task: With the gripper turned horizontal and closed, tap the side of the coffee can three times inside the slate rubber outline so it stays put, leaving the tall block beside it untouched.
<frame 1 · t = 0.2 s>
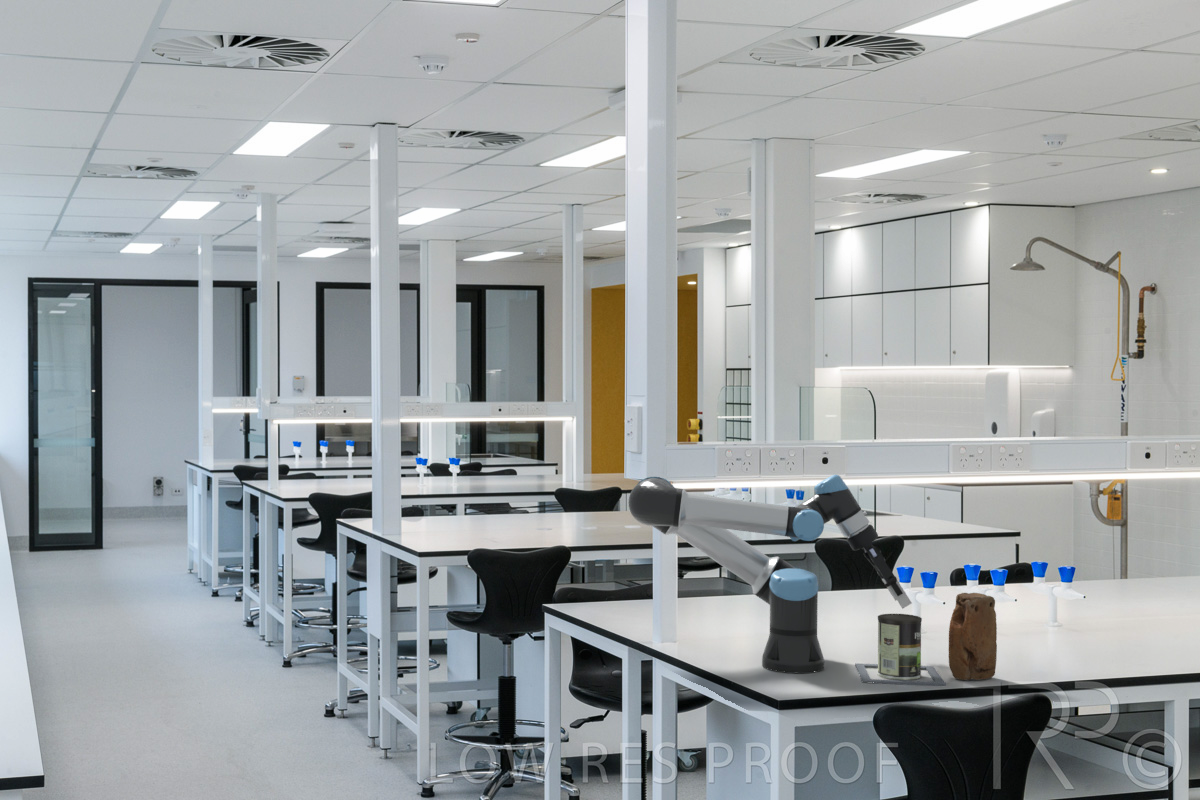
hand: (903, 601, 309), 15 cm above the table, tool tilted 35°, fingers open, 13 cm apart
tap outline: (898, 675, 291), on the table
block: (971, 679, 289), on the table
coffee can: (898, 676, 291), resting in tap outline
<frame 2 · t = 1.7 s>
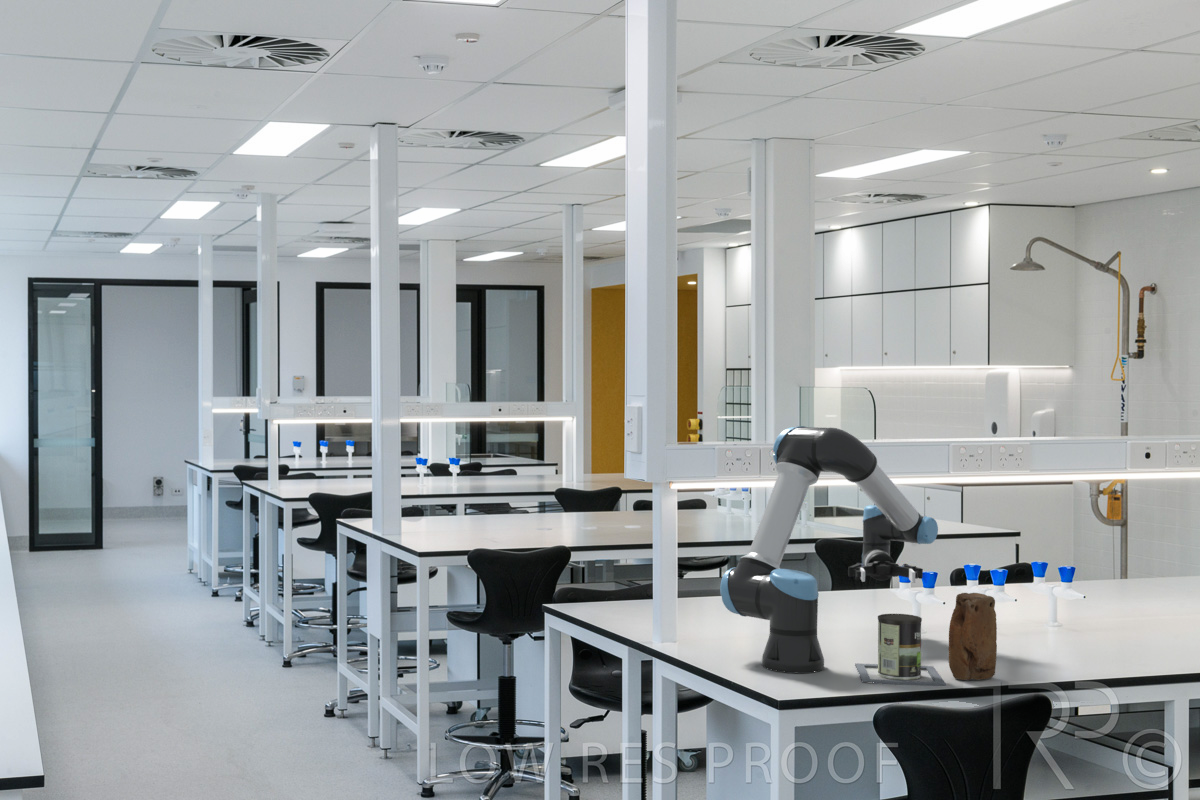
hand: (888, 577, 314), 20 cm above the table, tool horizontal, fingers open, 12 cm apart
nothing on the table moved.
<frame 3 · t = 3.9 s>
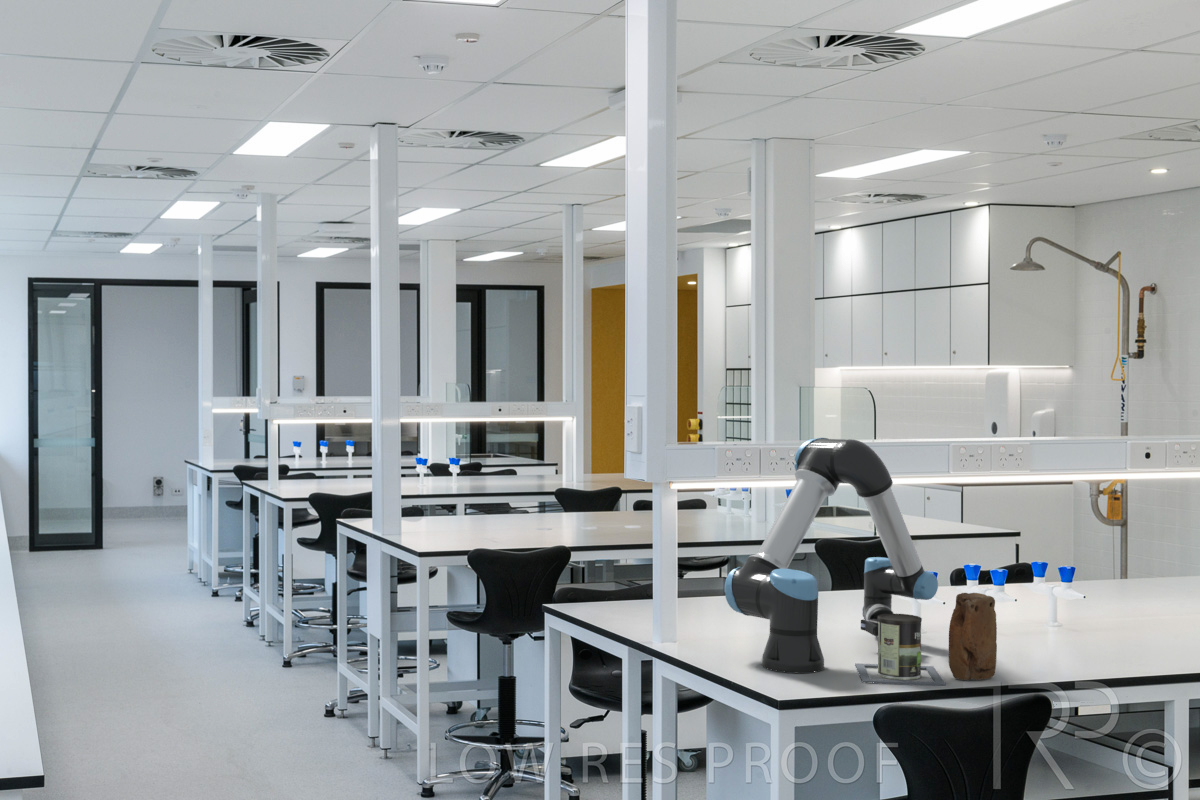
hand: (892, 637, 305), 7 cm above the table, tool horizontal, fingers closed
nothing on the table moved.
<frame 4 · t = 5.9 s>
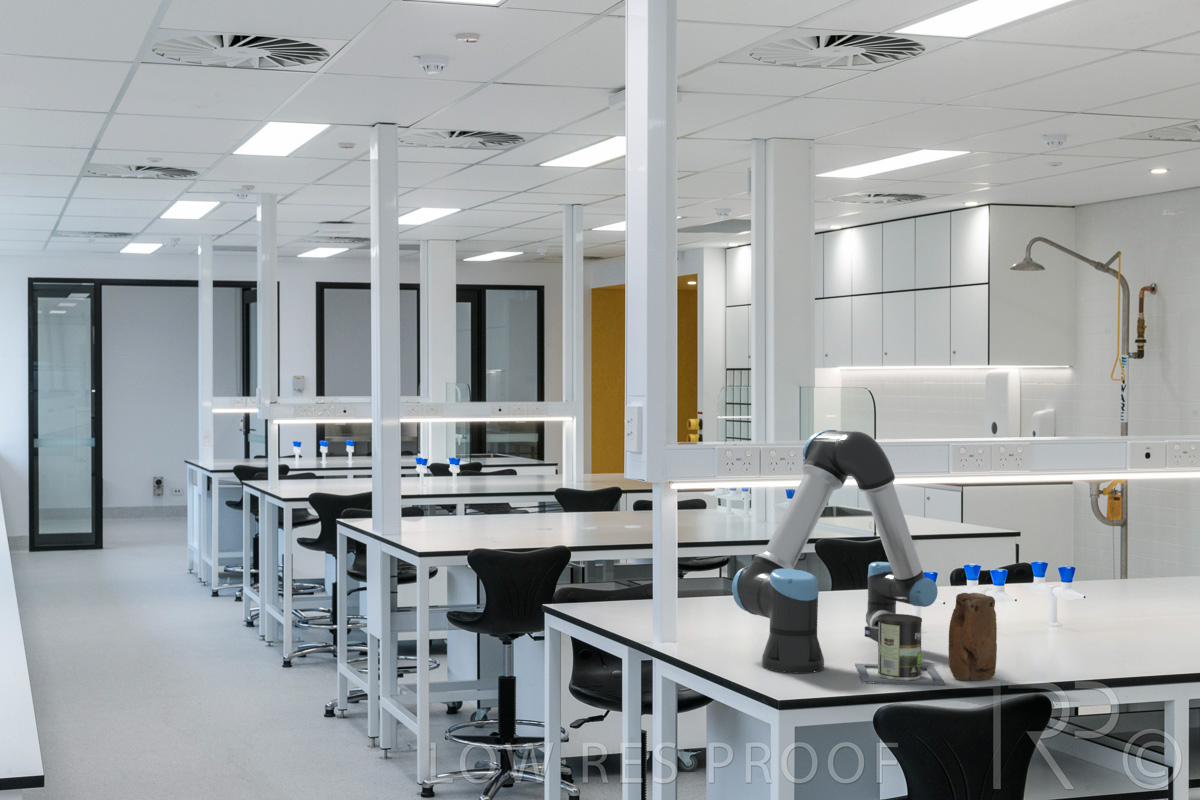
hand: (897, 644, 296), 6 cm above the table, tool horizontal, fingers closed
coffee can: (899, 676, 291), resting in tap outline, touching gripper
everything else where it was.
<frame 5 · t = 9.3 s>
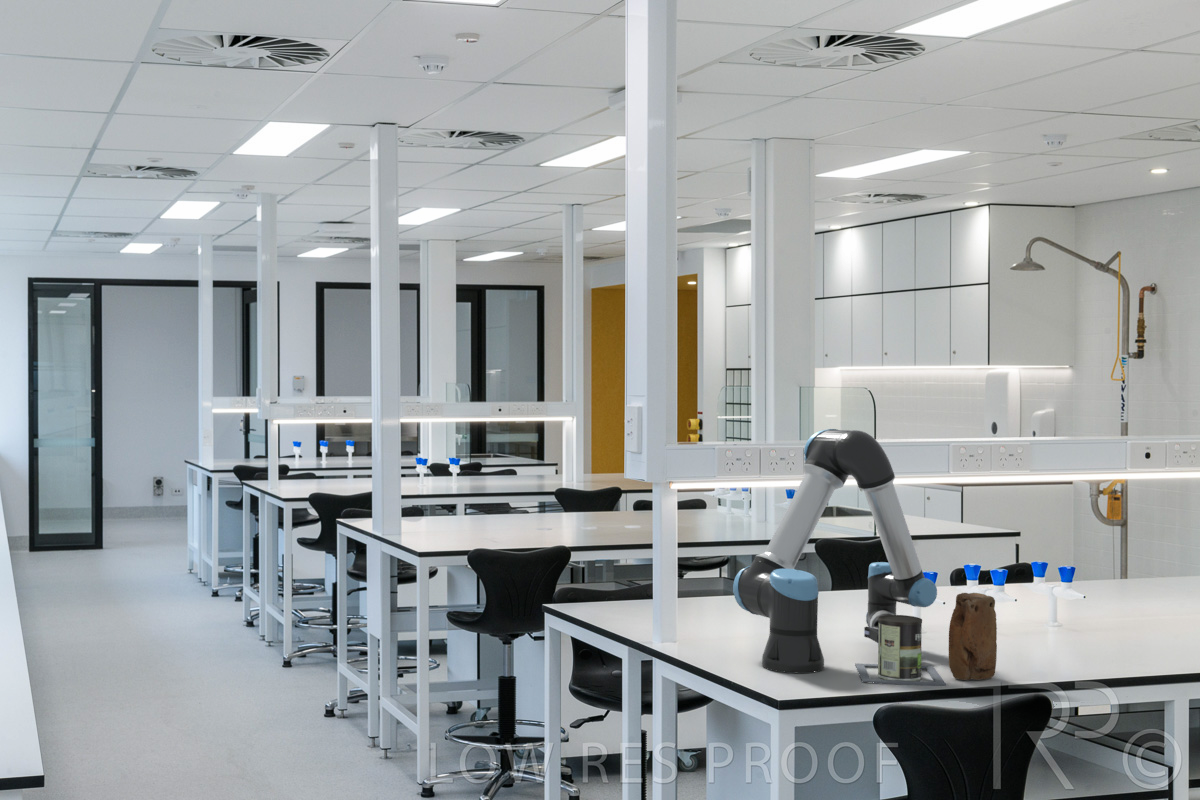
hand: (897, 645, 295), 7 cm above the table, tool horizontal, fingers closed
coffee can: (899, 678, 290), resting in tap outline
everything else where it was.
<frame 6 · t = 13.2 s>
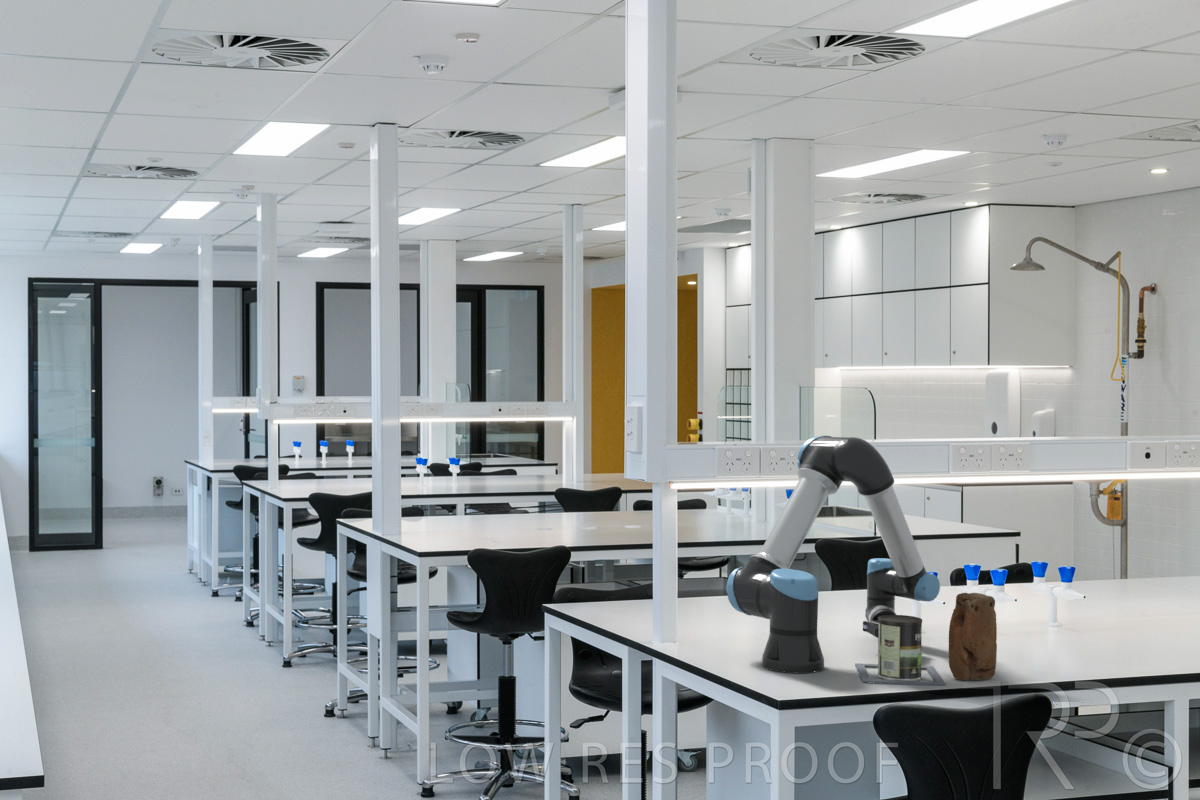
hand: (894, 638, 302), 7 cm above the table, tool horizontal, fingers closed
nothing on the table moved.
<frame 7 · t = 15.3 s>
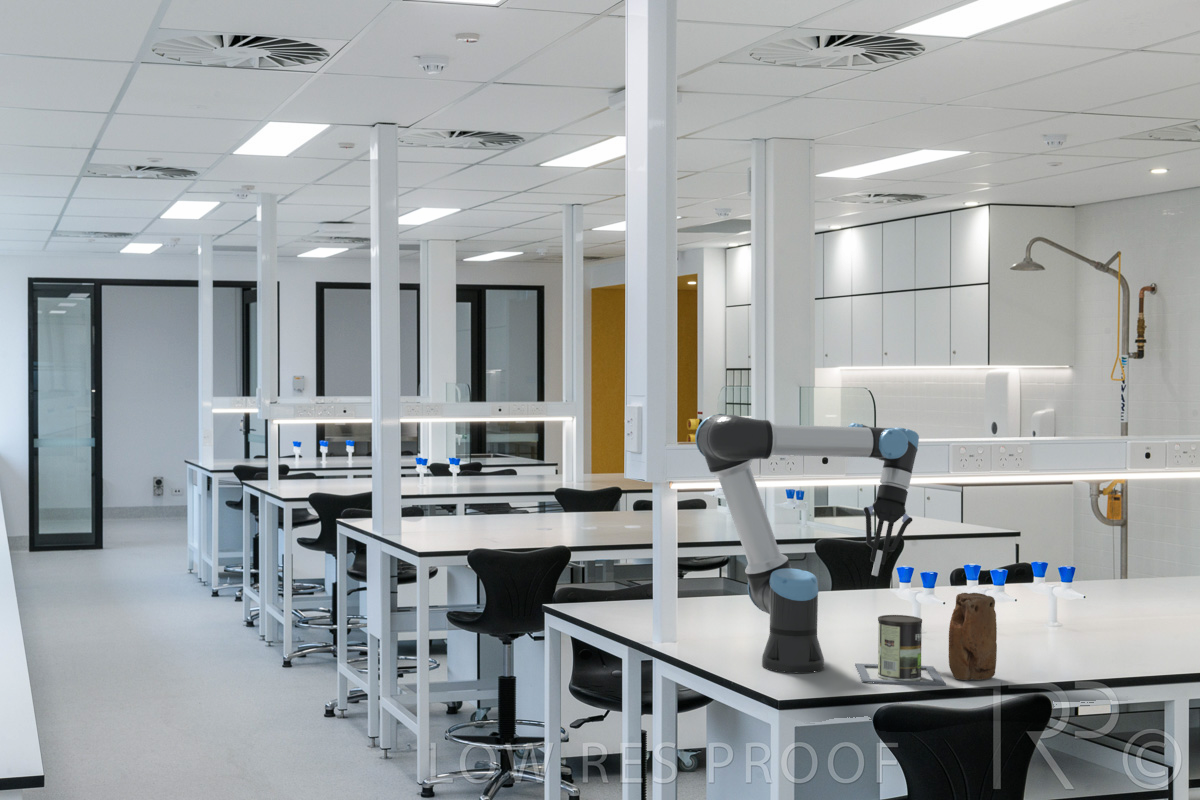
hand: (874, 575, 313), 21 cm above the table, tool tilted 15°, fingers closed
nothing on the table moved.
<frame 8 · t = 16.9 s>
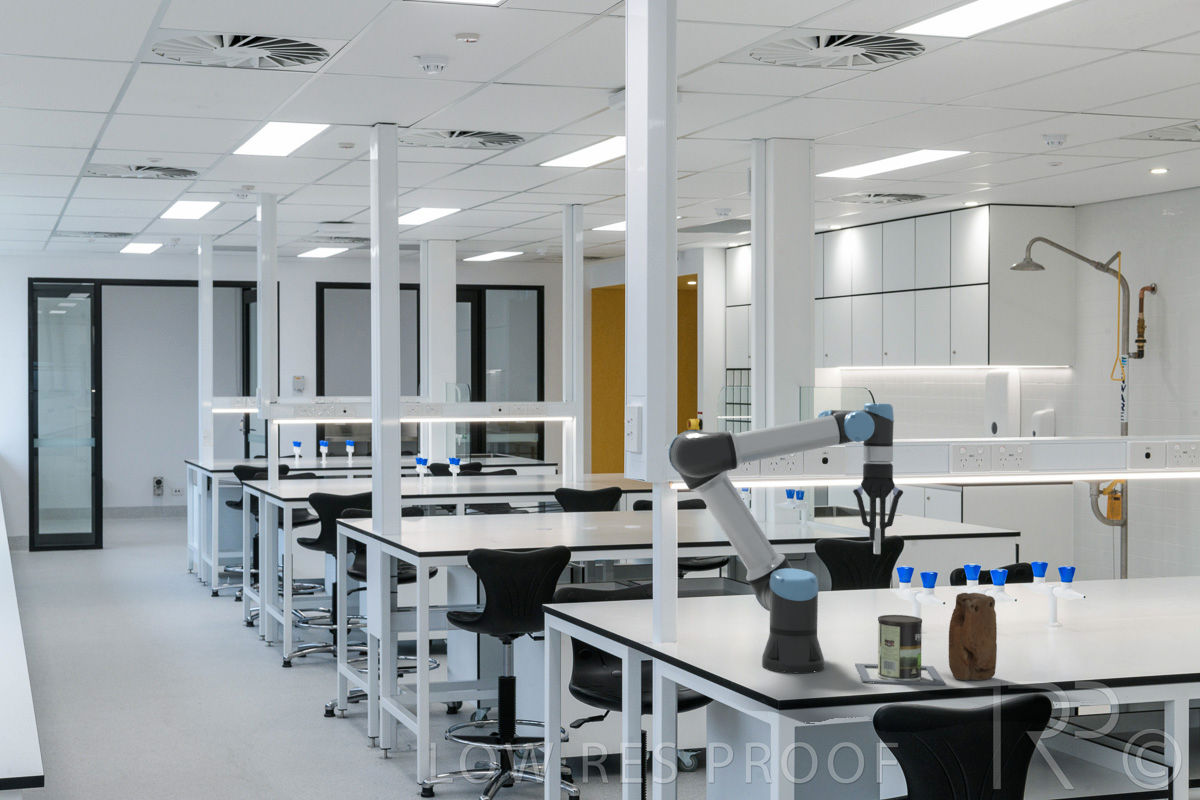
hand: (876, 553, 315), 26 cm above the table, tool pointing down, fingers closed
nothing on the table moved.
at the end: coffee can moved 1.8 cm from its start; coffee can tilted 0°; coffee can 1.8 cm off-centre on the tap outline, point 0.0 cm above the tap outline's base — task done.
